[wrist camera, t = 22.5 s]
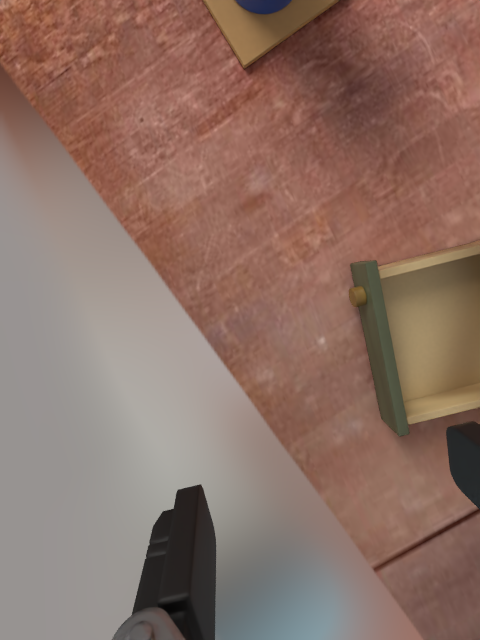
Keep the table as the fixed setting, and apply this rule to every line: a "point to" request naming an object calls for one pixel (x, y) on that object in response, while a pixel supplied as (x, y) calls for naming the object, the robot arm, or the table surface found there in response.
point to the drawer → (422, 333)
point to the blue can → (263, 5)
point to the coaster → (262, 25)
